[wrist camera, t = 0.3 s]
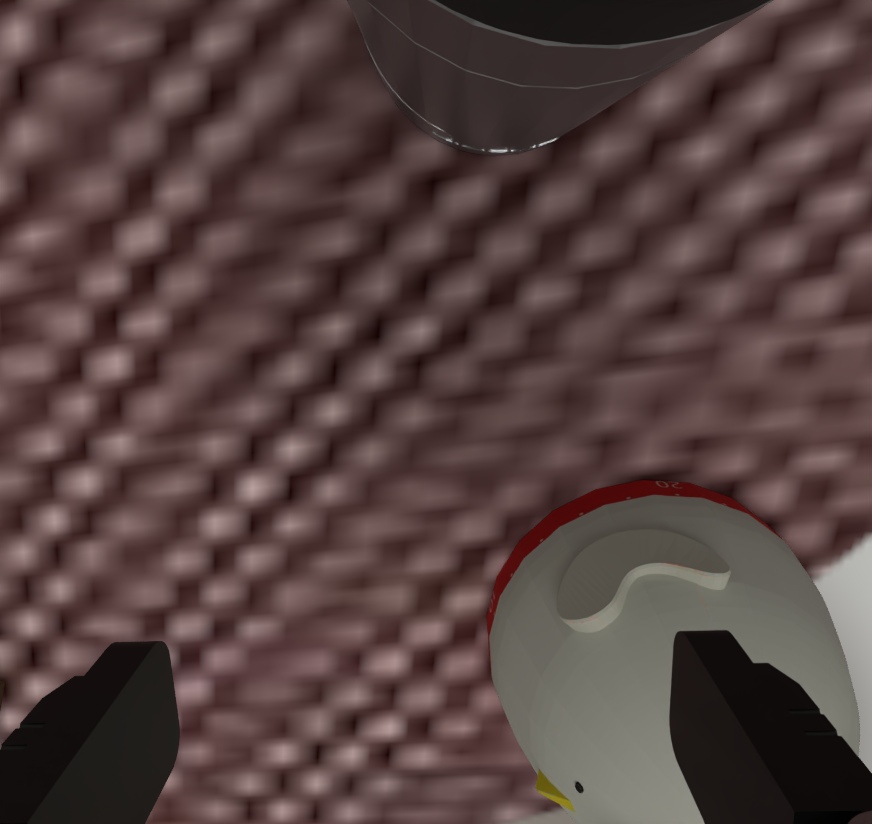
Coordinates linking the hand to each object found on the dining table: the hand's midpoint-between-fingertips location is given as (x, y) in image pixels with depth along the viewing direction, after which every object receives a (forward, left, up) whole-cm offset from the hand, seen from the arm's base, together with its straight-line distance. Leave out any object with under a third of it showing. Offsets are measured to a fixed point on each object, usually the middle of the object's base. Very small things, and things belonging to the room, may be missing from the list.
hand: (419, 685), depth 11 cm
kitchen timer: (+10, +10, -18) cm, 23 cm away
